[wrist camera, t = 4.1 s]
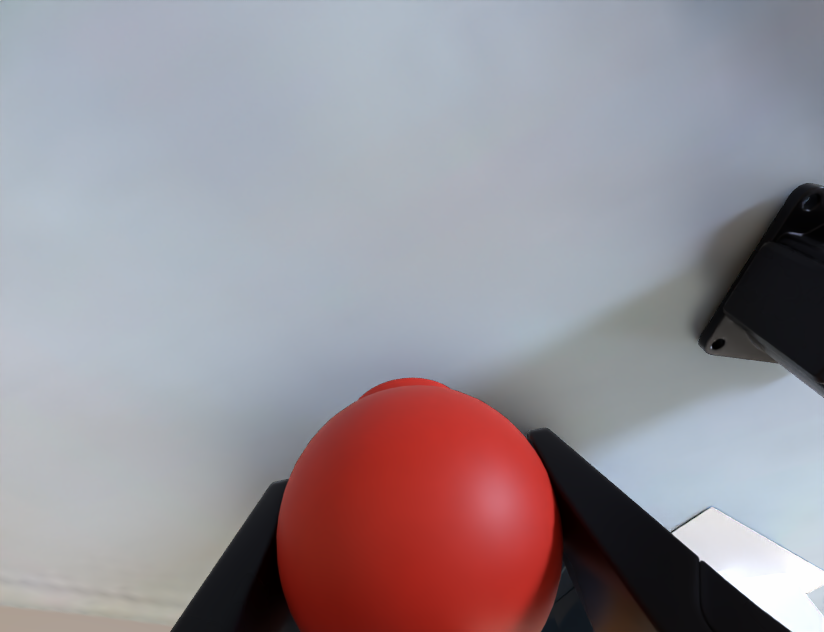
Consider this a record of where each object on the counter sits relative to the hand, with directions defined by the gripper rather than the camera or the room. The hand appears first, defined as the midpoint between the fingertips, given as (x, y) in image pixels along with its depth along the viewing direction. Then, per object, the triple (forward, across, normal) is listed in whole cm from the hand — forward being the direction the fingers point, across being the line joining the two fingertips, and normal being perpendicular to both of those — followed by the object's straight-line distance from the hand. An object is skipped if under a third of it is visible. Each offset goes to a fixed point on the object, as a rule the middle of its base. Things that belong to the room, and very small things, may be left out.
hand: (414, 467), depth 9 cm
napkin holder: (+7, -15, +25) cm, 30 cm away
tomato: (+1, 0, 0) cm, 1 cm away
